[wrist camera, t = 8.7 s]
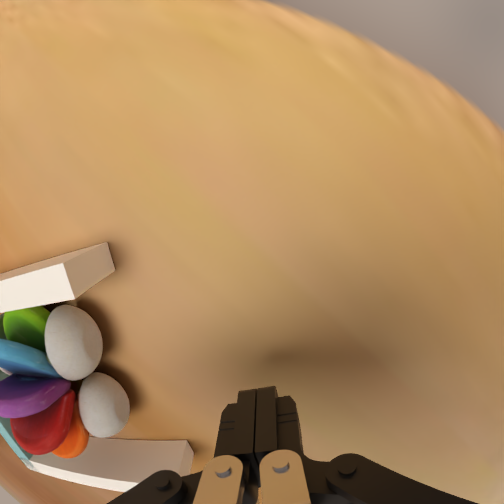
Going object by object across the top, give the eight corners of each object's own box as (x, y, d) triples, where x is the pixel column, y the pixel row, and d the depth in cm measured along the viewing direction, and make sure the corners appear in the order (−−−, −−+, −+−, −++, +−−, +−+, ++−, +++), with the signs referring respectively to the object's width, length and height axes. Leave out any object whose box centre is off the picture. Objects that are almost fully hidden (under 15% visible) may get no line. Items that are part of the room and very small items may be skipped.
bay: (106, 241, 14) (63, 262, 10) (194, 453, 17) (184, 497, 13) (-33, 285, 15) (-67, 302, 11) (47, 440, 18) (28, 468, 14)
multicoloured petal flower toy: (54, 409, 17) (10, 469, 10) (3, 292, 15) (-70, 336, 8) (148, 417, 17) (112, 503, 10) (95, 278, 15) (8, 341, 8)
